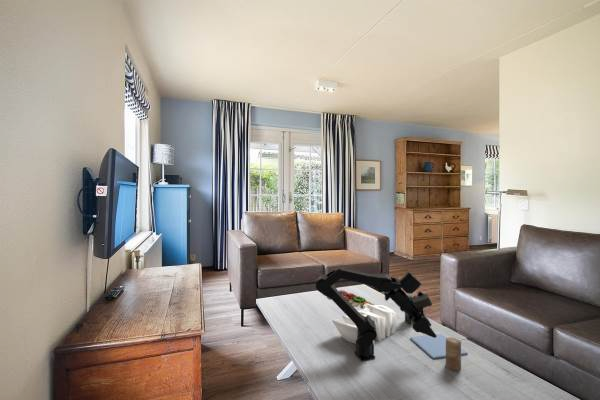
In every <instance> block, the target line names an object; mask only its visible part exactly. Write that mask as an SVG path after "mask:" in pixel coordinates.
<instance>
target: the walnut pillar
mask: <svg viewBox="0 0 600 400" xmlns="http://www.w3.org/2000/svg"><path fill="white" fill-rule="evenodd" d="M461 348H462V341H461V340H460V339H458V338H456V337H447V338H446V357H445V366H446V368H447V369H449V370H451V371H454V372H455V371H456V372H458V371H461V370H462V355H461Z"/></svg>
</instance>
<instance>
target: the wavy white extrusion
mask: <svg viewBox="0 0 600 400" xmlns="http://www.w3.org/2000/svg"><path fill="white" fill-rule="evenodd" d="M357 311H358V312H359V313H360V314H361V315H363V316H365V317H366V316H367V315H369V317H370V318H371V319H372V320H373V321H375V325H376V331H377V337H376V339H375V340H376V341H378V342H380V341H382V340H384V339H386V338H387V337H390V336H391V335H393V334H395V333H396V328H397V327H396V326H397V320H398V313H396V311H394V310H393V309H392V308H390V307H387V306H386V305H383V304H382V305H381V304H376V305H375V304H374V306H373V305H370V304H367V303H366V304H364V305H363V307H362V308H361V309H359V310H357ZM342 319H343V321H342V320H340V319H338V318H334V319H333V320H332V319H331V322H332V323H333V325H334V326H335V328H336V330H337V331H338V333H339V334H340V336H341V337H342V338H343V339H344V340H346V341H347V342H350V343H352V344H354V345H356V340H357V331H358V328H357V327H356V325H355V323H354V322H353V321H352V320H351V319H350V318H349V317H348V316H347V315H346V314H345V315H343V316H342ZM375 340H374V341H373V344H374V345H375V344H376V342H375Z"/></svg>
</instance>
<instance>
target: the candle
mask: <svg viewBox="0 0 600 400" xmlns="http://www.w3.org/2000/svg"><path fill="white" fill-rule="evenodd" d="M407 295H408V296H410V297H412V298H413V299H414V298H416V296H415V291H414V292H413V293H412V294H411V293H410V294H409V293H407ZM413 319H415V318H412V319H411V320H410V319H409V318H408V316H407V315H406V314H405V313H404V323H405V324H409V325H412V324H411V321H412V320H413Z"/></svg>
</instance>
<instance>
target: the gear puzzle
mask: <svg viewBox="0 0 600 400" xmlns="http://www.w3.org/2000/svg"><path fill="white" fill-rule="evenodd" d="M338 291H339V292H340V293H341V294H342V295H343V296H344V298H345V299H346V300H347V301H348V302H349V303H350V304H351V305H352V306H353V307H354V308H355V307H356V308H358V307H359V305H360V307H361V308H363V305H364V304H366V303H367V304H370V305H373V306H374V305H375V304H374V303H371V302H370V301H367V299H366V298H365V297H361V296H357V295H356V294H354V293H353V292H352V293H351V292H349V293H348V291H346V290H344V289H340V290H338ZM327 300H330V301H331V300H332V299H331V298H329V297H327Z"/></svg>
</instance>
